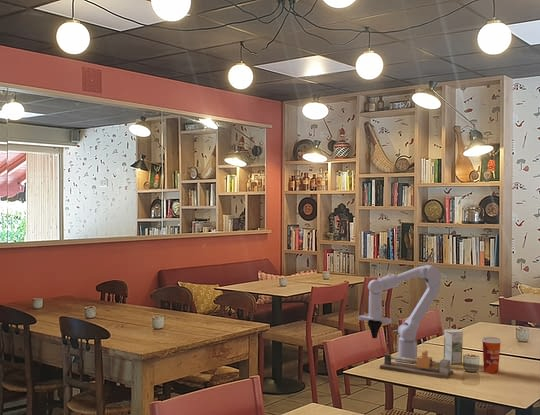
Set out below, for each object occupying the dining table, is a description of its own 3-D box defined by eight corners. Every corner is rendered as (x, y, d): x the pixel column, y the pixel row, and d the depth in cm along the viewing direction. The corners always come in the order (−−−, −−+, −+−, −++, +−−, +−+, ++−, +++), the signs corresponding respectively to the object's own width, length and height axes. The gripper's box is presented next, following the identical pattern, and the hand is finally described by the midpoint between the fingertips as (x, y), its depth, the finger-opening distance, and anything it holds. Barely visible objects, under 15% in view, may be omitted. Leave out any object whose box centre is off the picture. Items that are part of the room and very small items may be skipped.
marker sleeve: (420, 365, 270) (420, 349, 270) (432, 366, 267) (432, 351, 267) (417, 366, 267) (417, 351, 267) (429, 368, 264) (429, 353, 264)
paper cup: (488, 374, 266) (489, 340, 266) (477, 370, 273) (478, 336, 273) (504, 373, 268) (505, 339, 268) (493, 369, 275) (494, 336, 275)
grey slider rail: (388, 364, 280) (388, 350, 281) (453, 373, 266) (453, 359, 266) (379, 368, 272) (380, 354, 272) (446, 378, 257) (446, 363, 257)
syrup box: (454, 360, 290) (454, 328, 290) (462, 363, 284) (463, 330, 284) (443, 361, 288) (443, 328, 288) (451, 364, 282) (452, 331, 282)
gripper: (356, 306, 288) (355, 337, 288) (387, 309, 280) (386, 341, 280) (362, 304, 294) (362, 335, 294) (393, 307, 286) (392, 338, 286)
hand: (374, 337), depth 287 cm, fingers closed
